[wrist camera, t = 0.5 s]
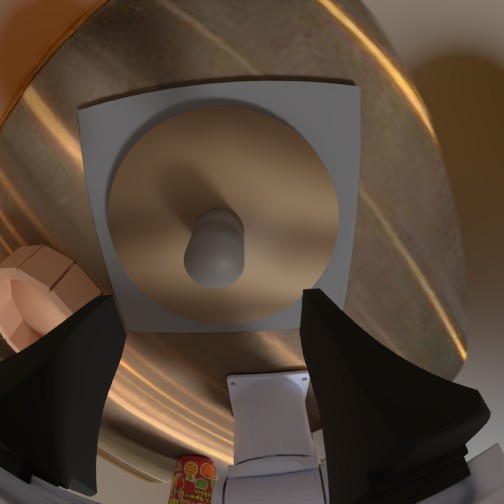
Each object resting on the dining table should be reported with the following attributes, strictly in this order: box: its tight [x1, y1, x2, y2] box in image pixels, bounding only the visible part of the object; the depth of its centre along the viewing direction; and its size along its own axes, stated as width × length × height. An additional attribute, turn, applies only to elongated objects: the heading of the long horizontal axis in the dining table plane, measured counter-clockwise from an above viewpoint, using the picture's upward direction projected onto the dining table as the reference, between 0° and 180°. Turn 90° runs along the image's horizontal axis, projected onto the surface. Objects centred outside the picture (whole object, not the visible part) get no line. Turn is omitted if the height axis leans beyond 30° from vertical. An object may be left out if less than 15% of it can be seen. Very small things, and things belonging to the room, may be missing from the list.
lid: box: [108, 107, 339, 324], centre depth 16 cm, size 15×15×5 cm
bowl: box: [0, 244, 103, 353], centre depth 20 cm, size 13×13×4 cm
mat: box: [78, 81, 361, 333], centre depth 18 cm, size 18×18×1 cm
